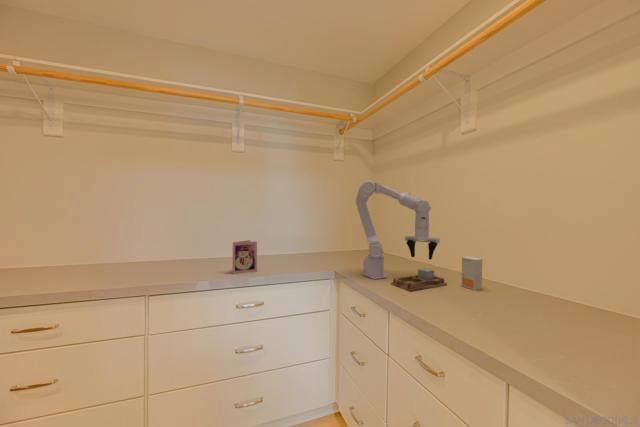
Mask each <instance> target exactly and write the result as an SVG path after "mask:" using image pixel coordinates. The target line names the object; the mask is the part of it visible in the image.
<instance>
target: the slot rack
mask: <svg viewBox="0 0 640 427" xmlns="http://www.w3.org/2000/svg"><path fill="white" fill-rule="evenodd" d="M390 285H392V286H394V287H397V288H400V289H402V290H404V291H407V292H409V293H412V292H417V291H423V290H429V289H434V288H439V287H444V286H447V285H448V283H447V282H445V278H443V277H439V276H436V275H434V280H427V281H426V280H423V279H419V278H418V274H417V275H410V276H409V275H407V276H402V277H395V278H392V281H391V282H390Z"/></svg>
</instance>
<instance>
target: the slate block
mask: <svg viewBox="0 0 640 427" xmlns="http://www.w3.org/2000/svg"><path fill="white" fill-rule="evenodd" d="M417 275H418V278H419V279H423V280H426V281H427V280H434V276H435V269H431V268H426V267H424V268H418V269H417Z"/></svg>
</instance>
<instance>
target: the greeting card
mask: <svg viewBox="0 0 640 427" xmlns="http://www.w3.org/2000/svg"><path fill="white" fill-rule="evenodd" d="M249 272H250V273H257V272H258V240H256V241H251V240H250V239H247V240H242V241H241V240H240V241H235V242H232V275H236V274H237V275H238V274H239V273H240V274H246V273H248V274H249ZM240 274H239V275H240Z"/></svg>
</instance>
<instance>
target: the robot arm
mask: <svg viewBox="0 0 640 427" xmlns="http://www.w3.org/2000/svg"><path fill="white" fill-rule="evenodd" d="M358 188H359V189H358V192H357V195H356V198H355V205H356V209H357V212H358V215H359V218H360V220H361V224H362V228H363V230H364V233H365V236H366V239H367V243H368V255H366V256H365V257H364V259H363V264H362V266H363V267H362V268H363V272H362V273H361V275H363V276H365V277H367V278H371V279H373V280H378V279H385V278H388V275H385V274H384V272H385V269H384V264H385V260H384V258H385V256H384V255H383V254H384V248H383V245H382V244H381V243H380V241H379V239H378V237H377V234H376V231H375V230H376V229H375V227H374V225H373V221H372V219H371V218H372V217H371V215H370V211H369V209H368V205H367V203H368V200H369V199H370V197H371V196H372V195H373V194H374V193H375V195H377V194H383V195H385V196H387V197H390V198H392V199H395V200H397V201H398V203H399V205H401V206H403V207H406V208H408V209H410V210H412V211H413V210H414V212H415V217H414V218H415V220H414V235H413V236H411V235H410V236H409V235H406V236H404V241H406V245H407V247H408V249H409V252H410V257H411V258H415V256H416V252H415V251H416V242H421V243H427V246H428V260H432V259H433V255H434V252H435V250H436V248H437V246H438V244H440V241H441V240H440V238H437V237H429V235H430V234H429V232H430V228H429V227H430V214H429V213H430V211H431V209H432V208H431V207H432V206H431V205H430V203H429V202H428V201H427V200H422V198H421V197H416V196H415V195H412V193H411V192H403V193H401V192H398V191H396V190H394V189H392V188H390V187H388V186H387V185H384V184H383V183H382V184H381V183H379V182H376V181H372V180H370V179H368V180H365V181H363V182H362V183H361V184H360V186H359V187H358Z"/></svg>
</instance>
